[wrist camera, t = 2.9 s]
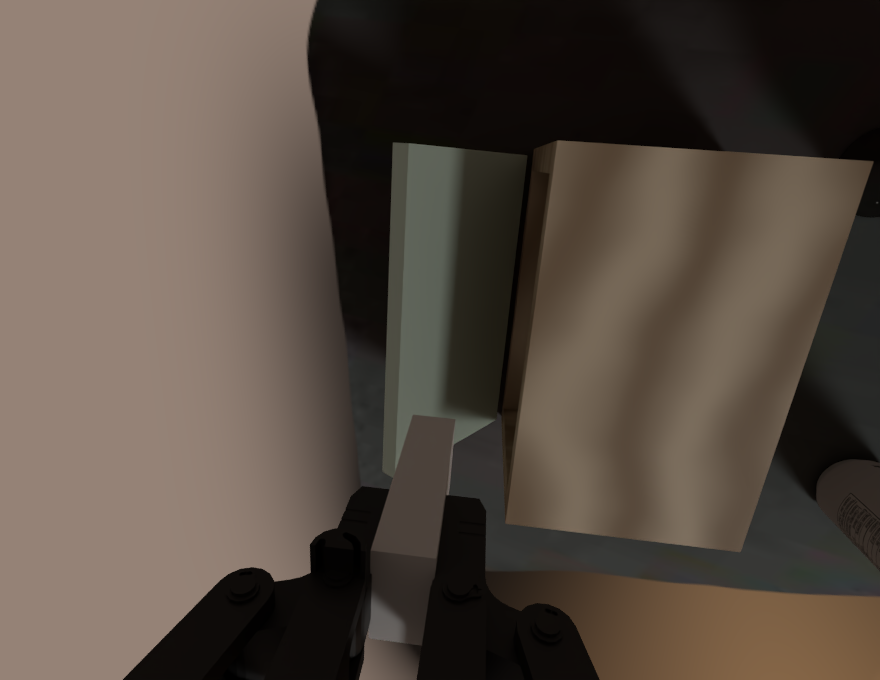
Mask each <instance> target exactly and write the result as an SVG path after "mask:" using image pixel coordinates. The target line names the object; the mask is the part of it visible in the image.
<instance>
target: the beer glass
mask: <svg viewBox="0 0 880 680" xmlns="http://www.w3.org/2000/svg"><path fill="white" fill-rule="evenodd" d="M841 159H846V160H861V161H874V162H873V165H872V168H871V171H870V174H869V177H868V180H867V183H866V185H865V188H864V191H863V194H862V197H861V200H860V203H859V206H858V209H857V212H856V215H857V216H861V217H869V218H875V217H880V128H877V129H875V130H872V131H870V132H868V133H866V134H864V135H863V136H861V137H860V138H859V139H857V140H856V141H855V142H854V143H853V144H852V145H851V146H850V147H849V148H848V149H847V150H846V151H845V153H844V154H843V156H842V157H841Z"/></svg>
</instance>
